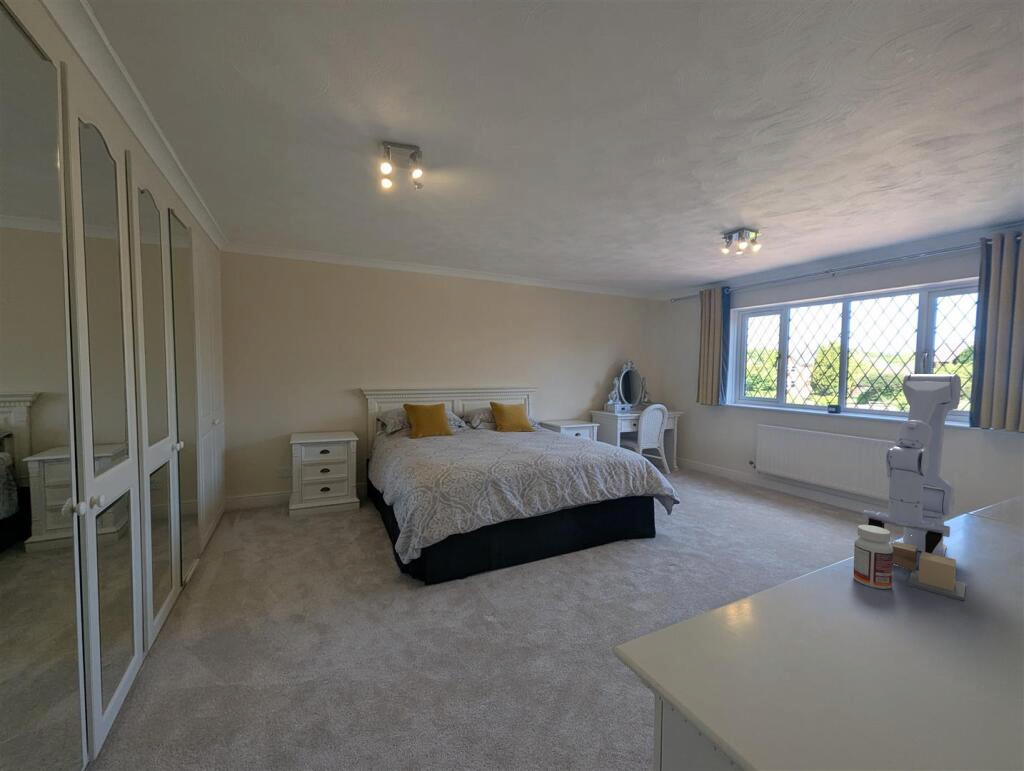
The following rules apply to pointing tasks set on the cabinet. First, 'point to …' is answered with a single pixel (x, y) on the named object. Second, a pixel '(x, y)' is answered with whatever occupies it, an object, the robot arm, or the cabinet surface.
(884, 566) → the pill bottle
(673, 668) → the cabinet surface
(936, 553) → the robot arm
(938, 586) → the tower base
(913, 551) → the walnut block
